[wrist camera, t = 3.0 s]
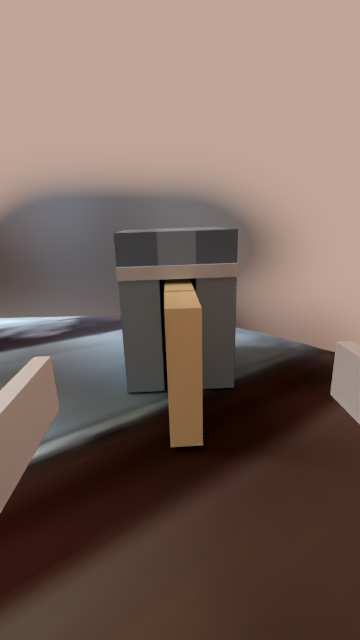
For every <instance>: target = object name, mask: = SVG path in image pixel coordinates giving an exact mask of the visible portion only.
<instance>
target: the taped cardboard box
mask: <svg viewBox="0 0 360 640" xmlns="http://www.w3.org/2000/svg"><path fill="white" fill-rule="evenodd" d="M164 315H165V337H166V359H167V381H168V403H169V425H170V446H171V447H184V446H202V445H203V391H202V307H201V305H200V302H199V300H198V298H197V295H196V293H195V290H194V288H193V286H192V283H191V281H190V279H165V287H164Z"/></svg>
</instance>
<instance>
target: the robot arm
mask: <svg viewBox="0 0 360 640" xmlns="http://www.w3.org/2000/svg"><path fill="white" fill-rule="evenodd" d="M330 394H331V396H332V397H333V398H334V399H335V400H336V401H337V402H338V403H339V404H340V405H341V406H342V407H343V408H344V409H345V410H346V411H347V412H348V413H349V414H350V415H351V416H352V417H353V418H354V419H355V420H356V421H357V422H358V423H359V424H360V345H358V344H357V343H355V342H354V341H341V342H336V350H335V358H334V367H333V376H332V384H331V393H330ZM59 410H60V407H59V401H58V395H57V389H56V383H55V377H54V371H53V365H52V359H51V356H40V357H33V358H32V359H31V360H30V361H29V362H28V363H27V364H26V365H25V366H24V367H23V368H22V369H21V370H20V371H19V372H18V373H17V374H16V375H15V376H14V377H13V378H12V379H11V380H10V381H9V382H8V383H7V384H6V385H5V386H4V387H3V388H2V389H1V390H0V513H1V511H2V509H3V508H4V506H5V504H6V502H7V501H8V499H9V497H10V496H11V494H12V492H13V490H14V489H15V487H16V485H17V483H18V482H19V480H20V478H21V476H22V475H23V473H24V471H25V469H26V468H27V466H28V464H29V462H30V461H31V459H32V457H33V455H34V454H35V452H36V450H37V448H38V447H39V445H40V443H41V441H42V440H43V438H44V436H45V434H46V433H47V431H48V429H49V427H50V426H51V424H52V422H53V420H54V419H55V417H56V415H57V414H58V412H59Z"/></svg>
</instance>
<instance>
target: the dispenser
mask: <svg viewBox="0 0 360 640" xmlns="http://www.w3.org/2000/svg"><path fill="white" fill-rule="evenodd" d="M237 241H238V229H232V228H222V227H200V228H168V229H137V230H125V231H121V232H116V233H114V242H115V253H116V265H117V267H116V276H117V281H118V287H119V298H120V308H121V321H122V332H123V343H124V354H125V366H126V377H127V388H128V393H129V392H150V391H164V384H165V350H166V337H165V315H164V287H165V279H190V281H191V283H192V286H193V288H194V290H195V293H196V295H197V298H198V300H199V302H200V305H201V307H202V389H212V388H232V387H234V364H235V322H236V285H237V284H236V282H237V277H238V263H237V245H238V242H237Z"/></svg>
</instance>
